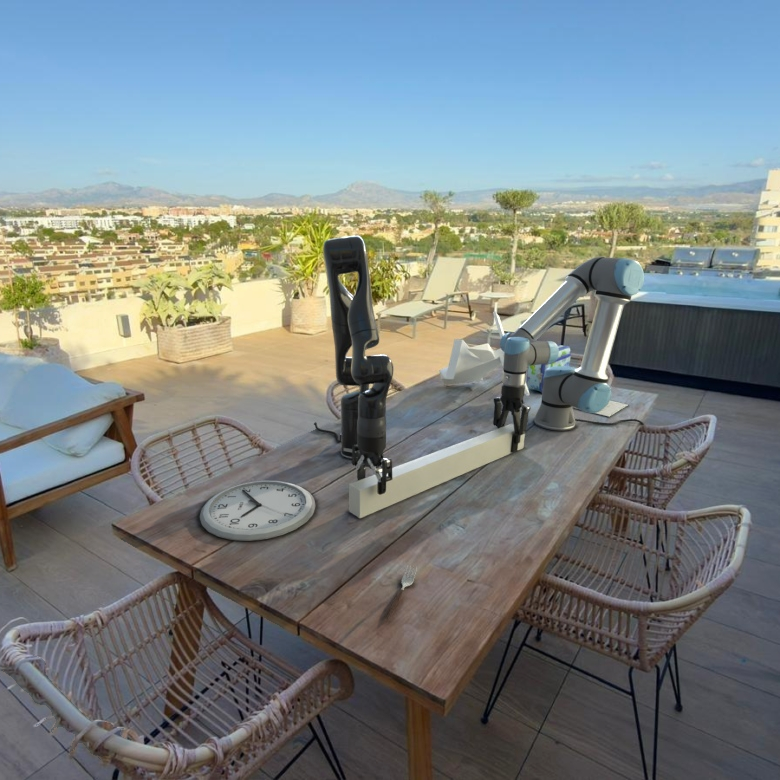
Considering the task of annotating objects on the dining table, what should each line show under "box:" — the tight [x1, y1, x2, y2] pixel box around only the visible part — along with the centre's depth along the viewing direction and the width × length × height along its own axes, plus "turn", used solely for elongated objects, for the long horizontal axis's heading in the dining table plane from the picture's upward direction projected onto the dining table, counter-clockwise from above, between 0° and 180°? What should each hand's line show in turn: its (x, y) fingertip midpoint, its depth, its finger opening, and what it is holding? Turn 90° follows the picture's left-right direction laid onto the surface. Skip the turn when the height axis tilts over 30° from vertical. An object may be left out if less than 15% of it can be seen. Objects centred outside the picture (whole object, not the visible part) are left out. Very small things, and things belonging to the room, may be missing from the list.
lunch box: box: [526, 344, 572, 394], centre depth 248 cm, size 26×11×21 cm, turn 135°
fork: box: [386, 563, 418, 620], centre depth 108 cm, size 3×16×2 cm, turn 160°
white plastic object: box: [438, 310, 531, 397], centre depth 245 cm, size 37×45×31 cm
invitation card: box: [573, 400, 629, 418], centre depth 226 cm, size 21×1×15 cm
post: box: [348, 422, 526, 519], centre depth 160 cm, size 72×5×8 cm, turn 131°
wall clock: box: [199, 480, 316, 542], centre depth 140 cm, size 30×2×30 cm
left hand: (371, 487), depth 140 cm, fingers open, 8 cm apart
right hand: (507, 448), depth 180 cm, fingers closed on post, 5 cm apart
